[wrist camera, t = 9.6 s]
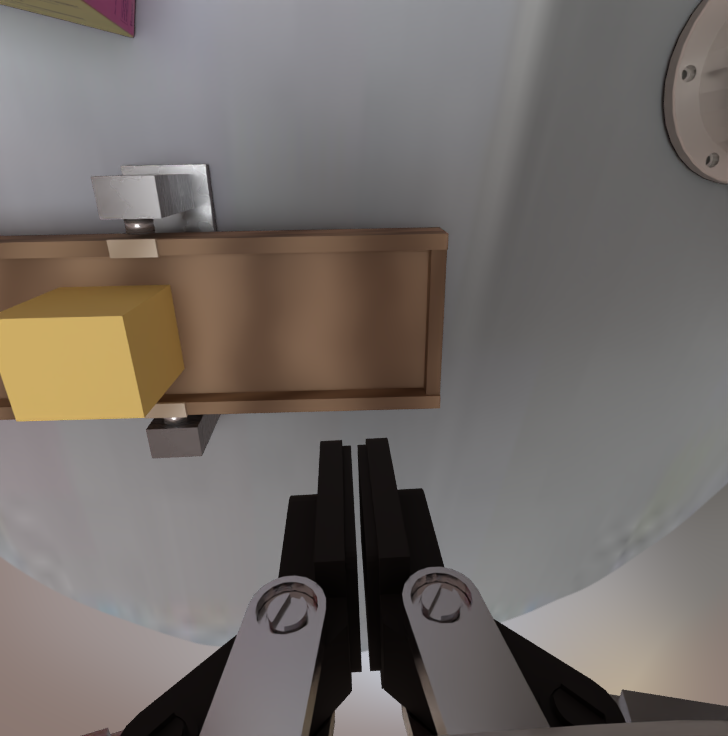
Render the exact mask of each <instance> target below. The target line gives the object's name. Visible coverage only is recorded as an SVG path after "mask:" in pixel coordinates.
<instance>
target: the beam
mask: <svg viewBox="0 0 728 736" xmlns="http://www.w3.org/2000/svg"><path fill="white" fill-rule="evenodd" d="M447 250H448V233H447V232H445V231H444V230H442V229H441V228H439V227H430V228H379V229H329V230H279V231H229V232H179V233H151V234H141V235H129V234H79V235H28V236H0V312H1V311H4V310H6V309H9V308H11V307H13V306H16V305H18V304H21V303H23V302H25V301H28V300H30V299H33V298H35V297H37V296H40V295H42V294H45V293H47V292H49V291H52V290H54V289H57V288H59V287H95V286H137V285H170V288H171V293H172V299H173V305H174V311H175V316H176V322H177V328H178V333H179V339H180V345H181V350H182V356H183V362H184V368H185V369H184V370H183V371H182V373H181V374H180V375H179V376H178V378H177V379H176V380H175V381H174V382H173V384H172V385H171V386H170V387H169V388H168V390H167V391H166V392H165V393H164V395H163V396H162V397H161V398H160V399H159V401H158V402H157V403H156V404H155V406H154V407H153V408H152V409H151V410H150V412H149V413H148V414H147V415H146V417H145V418H176V417H187V416H188V415H200V414H238V413H276V412H314V411H352V410H390V409H428V408H440V380H441V360H442V340H443V319H444V299H445V279H446V258H447ZM10 419H15V416H14V413H13V410H12V407H11V404H10V401H9V398H8V395H7V392H6V389H5V386H4V383H3V380H2V377H1V374H0V420H10Z"/></svg>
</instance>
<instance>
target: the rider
mask: <svg viewBox="0 0 728 736" xmlns="http://www.w3.org/2000/svg"><path fill="white" fill-rule="evenodd" d="M184 369H185V368H184V362H183V356H182V350H181V345H180V339H179V333H178V328H177V322H176V316H175V311H174V305H173V299H172V293H171V288H170V285H137V286H95V287H59V288H57V289H54V290H52V291H49V292H47V293H45V294H42V295H40V296H37V297H35V298H33V299H30V300H28V301H25V302H23V303H21V304H18V305H16V306H13V307H11V308H9V309H6V310H4V311H1V312H0V374H1V377H2V380H3V383H4V386H5V389H6V392H7V395H8V398H9V401H10V404H11V407H12V410H13V413H14V416H15V419H16V421H46V420H82V419H117V418H145V417H146V415H147V414H148V413H149V412H150V410H151V409H152V408H153V407H154V406H155V404H156V403H157V402H158V401H159V399H160V398H161V397H162V396H163V395H164V393H165V392H166V391H167V390H168V388H169V387H170V386H171V385H172V384H173V382H174V381H175V380H176V379H177V378H178V376H179V375H180V374H181V373H182V371H183V370H184Z"/></svg>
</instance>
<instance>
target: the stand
mask: <svg viewBox="0 0 728 736" xmlns="http://www.w3.org/2000/svg"><path fill="white" fill-rule="evenodd" d="M121 171H122V175H118V176H93V177H91V180H92V185H93V189H94V194H95V199H96V203H97V208H98V212H99V217H100V220H109V219H124V223H125V228H126V233H127V234H129V235H141V234H151V233H179V232H217V228H216V220H215V213H214V205H213V197H212V190H211V182H210V174H209V167H208V165H147V166H121ZM220 415H221V414H200V415H188V416H187V417H176V418H154V419H153V420H152V422H151V423H150V425H149V426H148V428H147V429H146V432H147V437H148V441H149V446H150V450H151V455H152V458H170V457H190V456H202V455H203V453H204V451H205V448H206V446H207V444H208V442H209V439H210V437H211V435H212V433H213V430H214V428H215V426H216V424H217V421H218V419H219V417H220Z"/></svg>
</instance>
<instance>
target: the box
mask: <svg viewBox="0 0 728 736" xmlns="http://www.w3.org/2000/svg"><path fill="white" fill-rule="evenodd" d="M0 4H2V5H6V6H10V7H14V8H18V9H22V10H26V11H30V12H34V13H38V14H42V15H46V16H50V17H54V18H58V19H62V20H66V21H70V22H74V23H78V24H82V25H85V26H89V27H93V28H97V29H101V30H105V31H109V32H112V33H116V34H120V35H124V36H128V37H134V14H135V0H0Z"/></svg>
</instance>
